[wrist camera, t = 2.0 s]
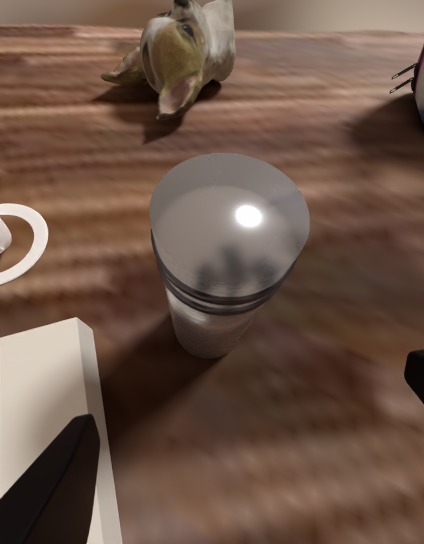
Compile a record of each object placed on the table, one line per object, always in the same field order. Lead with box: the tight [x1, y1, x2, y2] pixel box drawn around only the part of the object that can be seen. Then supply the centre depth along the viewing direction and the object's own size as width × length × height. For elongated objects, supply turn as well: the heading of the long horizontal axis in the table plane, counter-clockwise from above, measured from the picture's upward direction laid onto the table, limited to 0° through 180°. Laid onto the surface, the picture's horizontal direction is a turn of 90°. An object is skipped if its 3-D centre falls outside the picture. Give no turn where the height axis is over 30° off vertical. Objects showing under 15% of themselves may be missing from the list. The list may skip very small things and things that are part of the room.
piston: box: [149, 153, 310, 359], centre depth 14 cm, size 5×5×13 cm
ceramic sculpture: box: [101, 0, 236, 121], centre depth 29 cm, size 11×9×15 cm
